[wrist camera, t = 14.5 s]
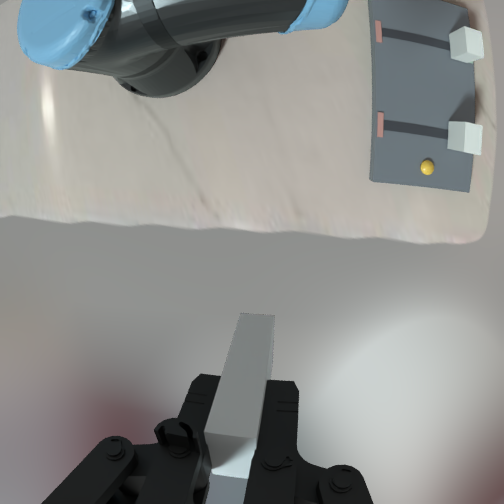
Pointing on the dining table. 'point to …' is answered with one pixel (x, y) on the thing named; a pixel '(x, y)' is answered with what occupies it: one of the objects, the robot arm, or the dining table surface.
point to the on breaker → (466, 45)
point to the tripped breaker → (465, 137)
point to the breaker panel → (418, 94)
